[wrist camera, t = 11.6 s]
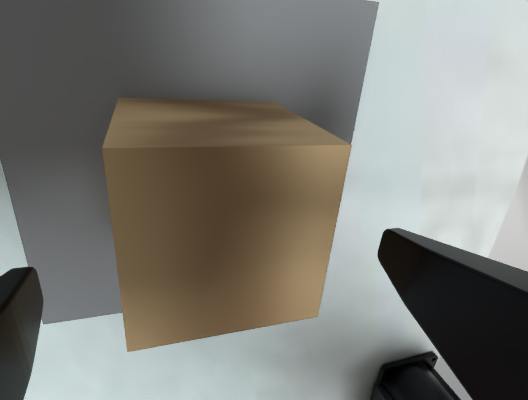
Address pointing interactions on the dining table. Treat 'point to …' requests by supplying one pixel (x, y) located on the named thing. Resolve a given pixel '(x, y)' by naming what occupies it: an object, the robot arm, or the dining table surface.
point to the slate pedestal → (151, 87)
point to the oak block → (219, 215)
